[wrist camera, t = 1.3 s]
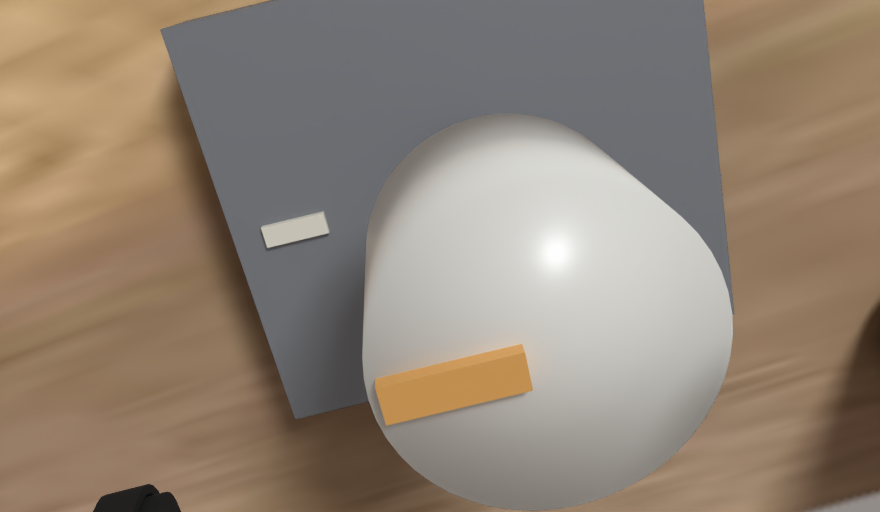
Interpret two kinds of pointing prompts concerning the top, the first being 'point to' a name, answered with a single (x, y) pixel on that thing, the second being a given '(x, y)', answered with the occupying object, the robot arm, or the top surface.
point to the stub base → (419, 132)
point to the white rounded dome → (536, 317)
